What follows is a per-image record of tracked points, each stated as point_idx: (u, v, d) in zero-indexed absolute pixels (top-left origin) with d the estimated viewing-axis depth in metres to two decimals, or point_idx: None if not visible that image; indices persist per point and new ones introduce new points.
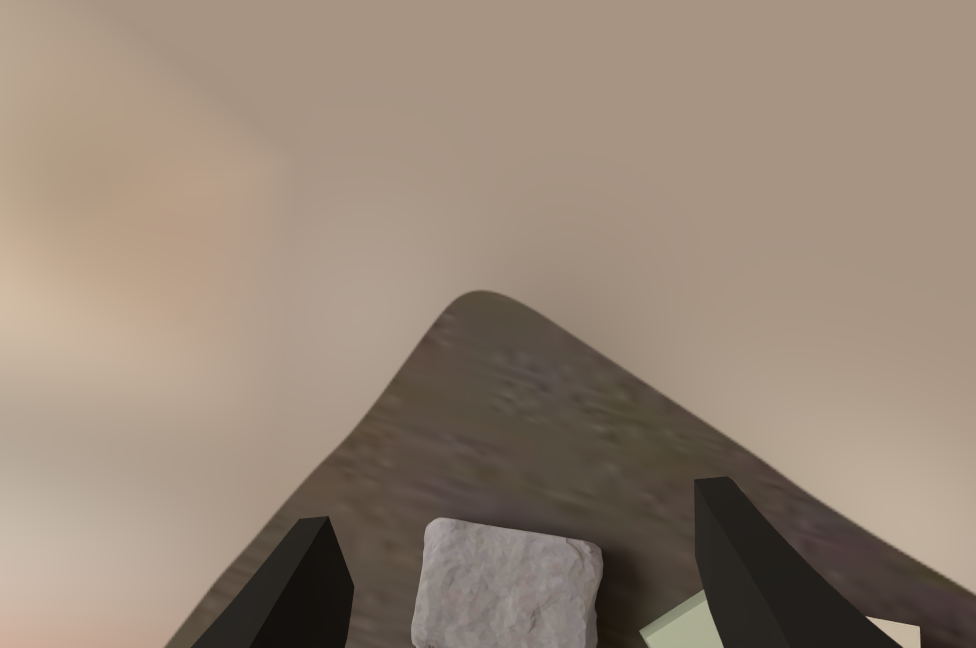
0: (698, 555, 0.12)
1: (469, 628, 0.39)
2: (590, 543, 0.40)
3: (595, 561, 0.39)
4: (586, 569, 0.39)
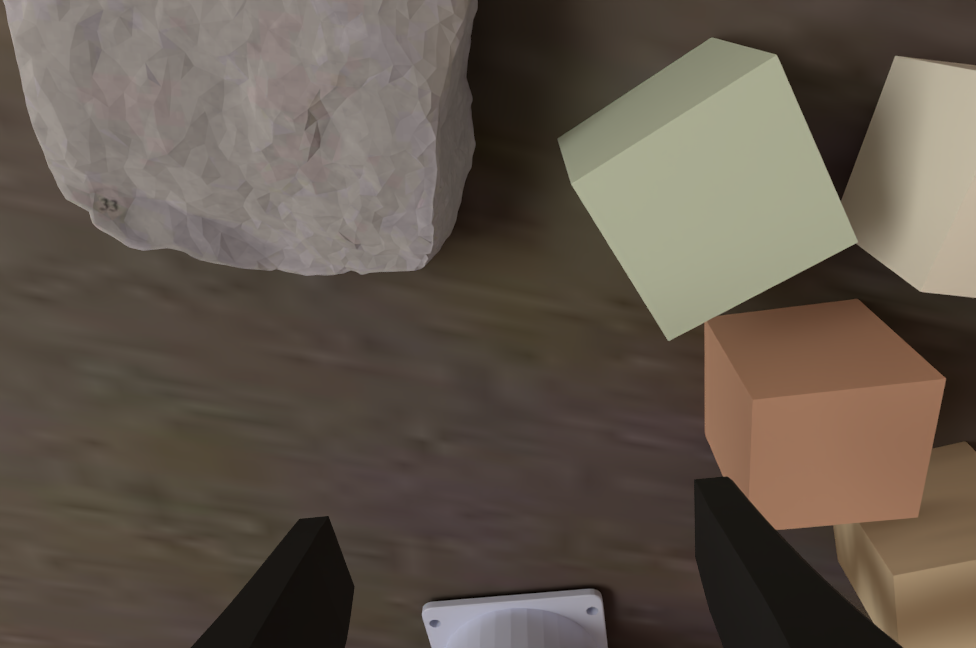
0: (698, 555, 0.12)
1: (175, 161, 0.17)
2: None
3: None
4: None
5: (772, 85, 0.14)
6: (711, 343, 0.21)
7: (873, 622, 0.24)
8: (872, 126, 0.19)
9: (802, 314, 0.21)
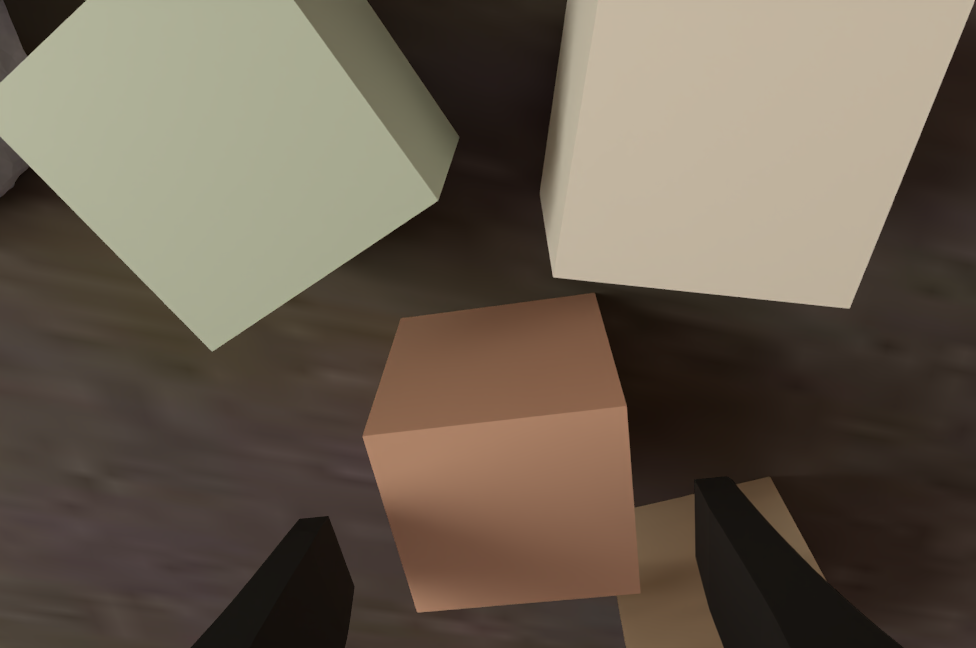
0: (698, 555, 0.12)
1: None
2: None
3: None
4: None
5: None
6: None
7: None
8: (560, 51, 0.13)
9: (515, 314, 0.16)
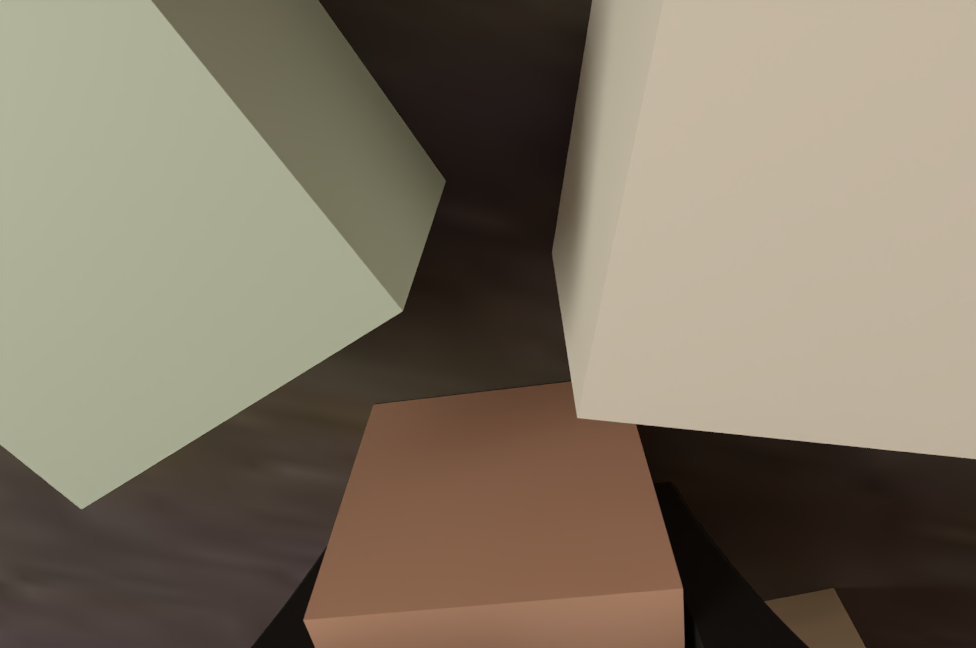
0: None
1: None
2: None
3: None
4: None
5: None
6: None
7: None
8: (582, 69, 0.10)
9: (520, 407, 0.12)
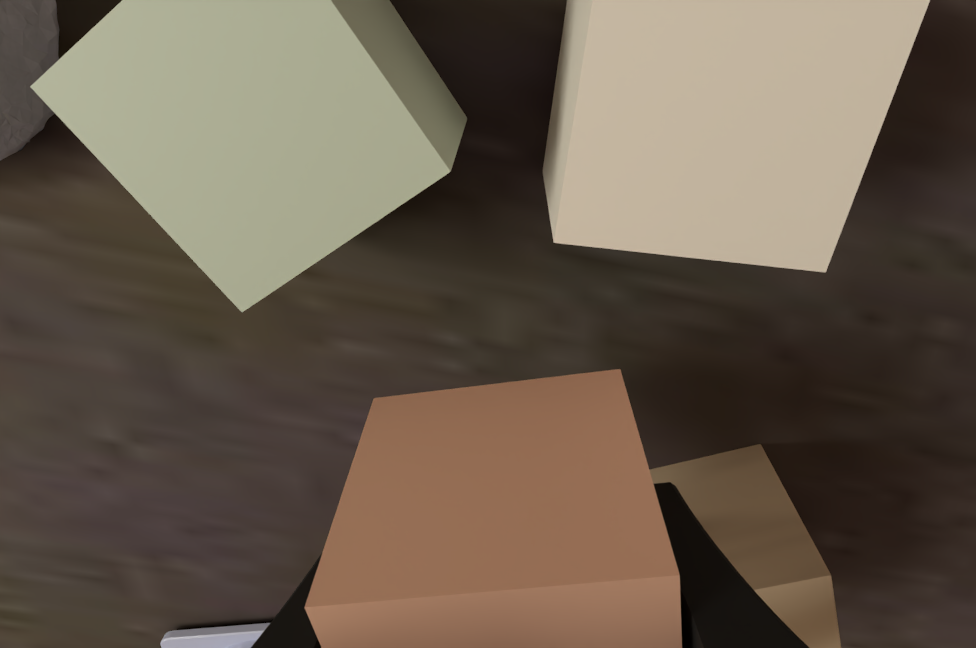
0: None
1: None
2: None
3: None
4: None
5: None
6: None
7: None
8: (562, 37, 0.14)
9: (519, 400, 0.12)
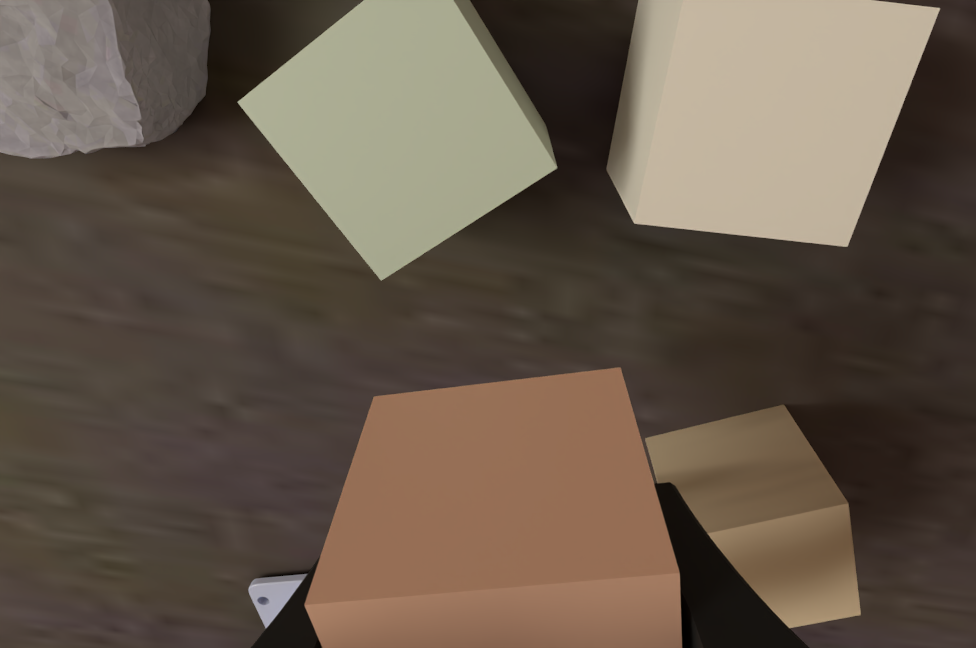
0: None
1: None
2: None
3: None
4: None
5: None
6: None
7: None
8: (628, 59, 0.18)
9: (519, 399, 0.12)
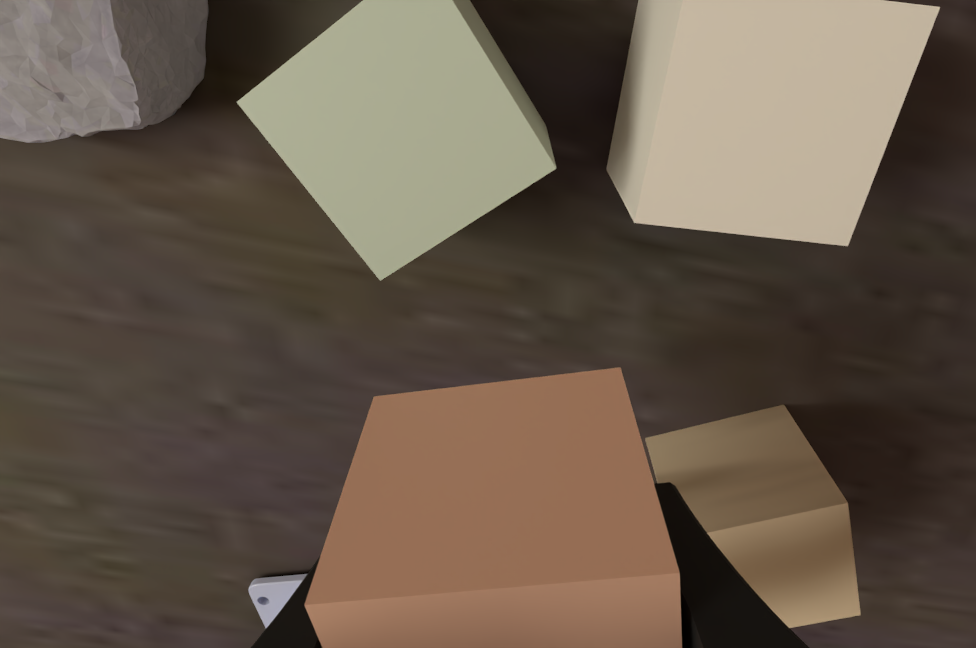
0: None
1: None
2: None
3: None
4: None
5: None
6: None
7: None
8: (628, 59, 0.18)
9: (519, 399, 0.12)
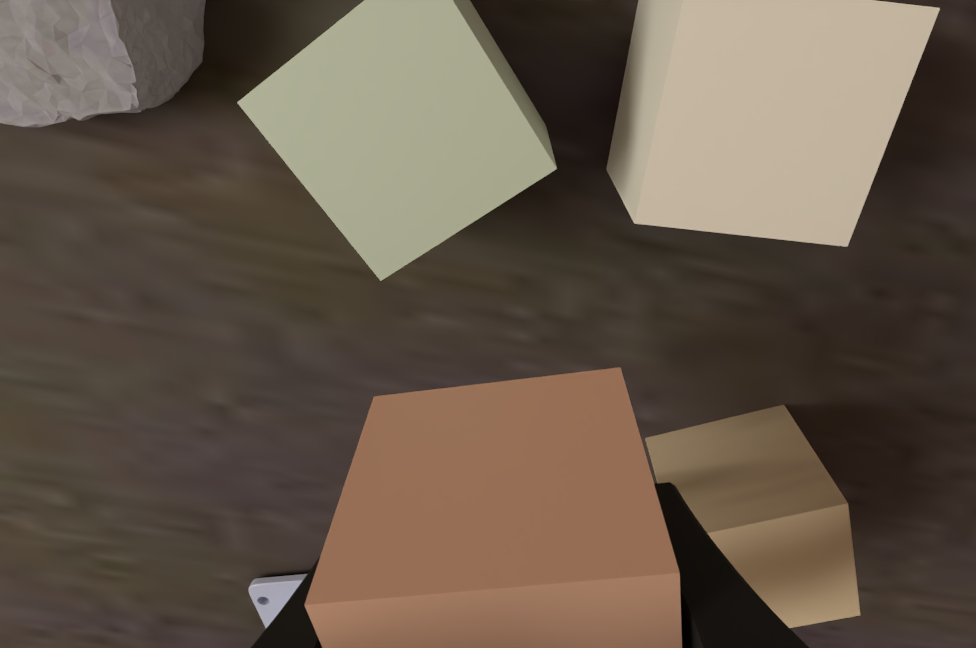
0: None
1: None
2: None
3: None
4: None
5: None
6: None
7: None
8: (628, 59, 0.18)
9: (519, 399, 0.12)
